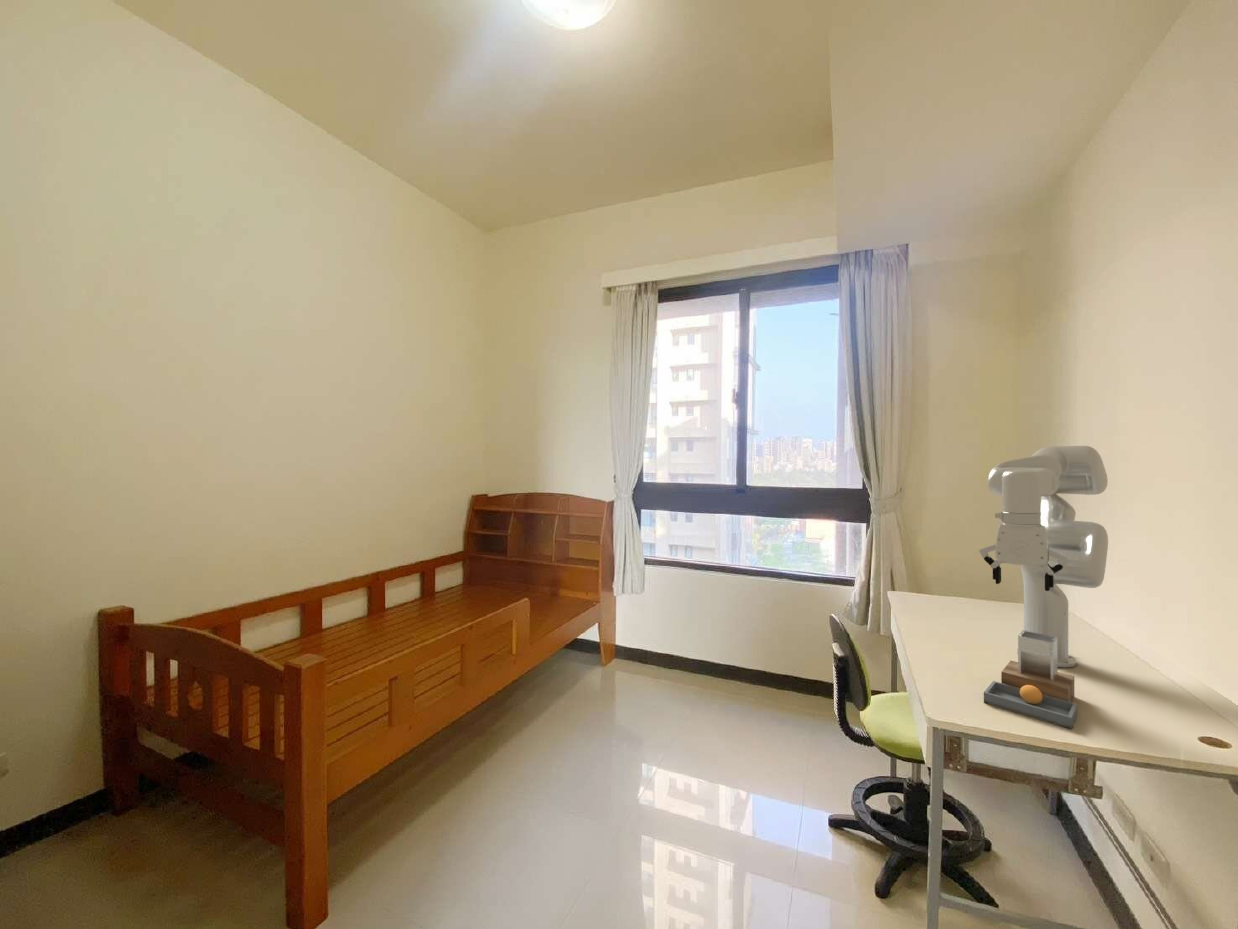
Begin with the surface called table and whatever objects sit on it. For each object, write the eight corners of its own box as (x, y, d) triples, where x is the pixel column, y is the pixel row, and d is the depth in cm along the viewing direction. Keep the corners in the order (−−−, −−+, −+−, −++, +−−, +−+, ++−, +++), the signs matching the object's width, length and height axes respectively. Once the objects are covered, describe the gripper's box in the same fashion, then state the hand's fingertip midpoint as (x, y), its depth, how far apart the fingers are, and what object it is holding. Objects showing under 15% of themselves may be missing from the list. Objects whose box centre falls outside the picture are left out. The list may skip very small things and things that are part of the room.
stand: (1010, 680, 124) (1010, 660, 124) (1074, 697, 115) (1074, 676, 115) (1001, 692, 117) (1001, 671, 117) (1068, 711, 108) (1068, 689, 108)
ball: (1018, 703, 111) (1022, 695, 114) (1041, 710, 108) (1044, 701, 111) (1017, 687, 111) (1021, 679, 113) (1040, 694, 108) (1043, 685, 110)
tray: (993, 690, 118) (993, 680, 118) (1077, 714, 107) (1077, 703, 107) (983, 702, 112) (983, 692, 112) (1071, 729, 101) (1071, 717, 101)
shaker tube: (1023, 666, 121) (1023, 630, 121) (1057, 674, 116) (1057, 637, 116) (1017, 673, 117) (1017, 636, 117) (1053, 682, 112) (1053, 643, 112)
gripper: (976, 518, 125) (977, 583, 126) (1066, 523, 113) (1067, 596, 113) (982, 514, 130) (983, 577, 131) (1069, 519, 118) (1070, 589, 118)
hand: (1022, 586), depth 122 cm, fingers open, 9 cm apart
